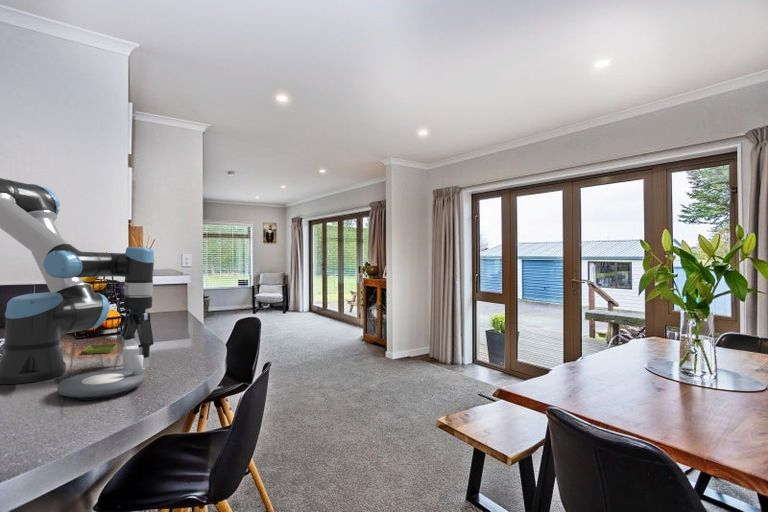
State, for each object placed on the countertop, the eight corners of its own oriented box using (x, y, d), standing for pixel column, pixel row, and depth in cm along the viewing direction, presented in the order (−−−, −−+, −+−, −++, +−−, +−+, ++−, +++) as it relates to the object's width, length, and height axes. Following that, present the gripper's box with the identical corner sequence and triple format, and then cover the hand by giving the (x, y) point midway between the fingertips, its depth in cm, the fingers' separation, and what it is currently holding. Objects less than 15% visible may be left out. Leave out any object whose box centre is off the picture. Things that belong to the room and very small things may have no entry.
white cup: (138, 372, 114) (139, 349, 114) (115, 371, 114) (117, 348, 114) (152, 366, 121) (153, 344, 121) (131, 365, 121) (132, 343, 121)
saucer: (82, 355, 132) (82, 350, 132) (89, 350, 139) (89, 344, 140) (112, 354, 135) (112, 348, 135) (117, 348, 143) (118, 343, 143)
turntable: (57, 381, 99) (59, 357, 99) (138, 371, 111) (139, 349, 111) (57, 402, 85) (59, 374, 86) (149, 387, 97) (150, 362, 97)
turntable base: (56, 397, 92) (56, 392, 92) (100, 381, 105) (100, 376, 105) (106, 401, 91) (106, 395, 91) (144, 384, 104) (144, 379, 104)
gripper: (111, 293, 123) (109, 358, 122) (139, 299, 107) (136, 374, 107) (137, 292, 129) (135, 354, 128) (167, 298, 113) (164, 369, 113)
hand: (135, 363), depth 117 cm, fingers open, 13 cm apart
